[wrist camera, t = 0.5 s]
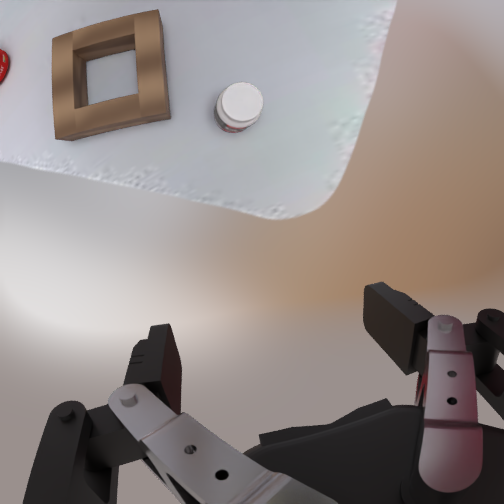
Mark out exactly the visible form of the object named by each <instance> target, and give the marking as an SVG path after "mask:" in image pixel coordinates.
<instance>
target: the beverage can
mask: <svg viewBox="0 0 504 504" xmlns="http://www.w3.org/2000/svg"><path fill="white" fill-rule="evenodd" d="M7 68H8V56H7V54H6V52H5V51H3V50H1V49H0V82H1V81H2V79H3V77H4V76H5V74H6V71H7Z"/></svg>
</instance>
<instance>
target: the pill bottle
mask: <svg viewBox="0 0 504 504" xmlns="http://www.w3.org/2000/svg"><path fill="white" fill-rule="evenodd" d="M262 107H263V97H262V94H261V92H260V91H259V90H258V88H256V87H255V86H254V85H252V84H250V83H246V82H239V83H235V84H232V85H231V86H229V87H228V88H226V89H225V90H224V91H222V93H221V94H220V95H219V97H218V99H217V102H216V106H215V109H214V118H215V121H216V123H217V125H218V126H219V127H220V128H221V129H223V130H224V131H227V132H231V133H236V132H241V131H243V130H245V129H246V128H248V127H249V126H251V125H252V124H253V123H254V122H256V120H257V119H258V118H259V116H260V114H261V111H262Z"/></svg>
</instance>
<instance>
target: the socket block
mask: <svg viewBox="0 0 504 504" xmlns="http://www.w3.org/2000/svg"><path fill="white" fill-rule="evenodd" d="M133 49H136V66H137V80H138V92H139V93H138V94H133V95H128V96H124V97H120V98H116V99H111V100H107V101H103V102H100V103H96V104H92V105H89V106H88V95H87V76H86V62H87V61H90V60H94V59H97V58H101V57H105V56H108V55H112V54H116V53H120V52H124V51H129V50H133ZM52 98H53V115H54V128H55V139H57V140H66V141H74V140H78V139H81V138H85V137H89V136H93V135H96V134H100V133H104V132H109V131H113V130H117V129H122V128H126V127H131V126H135V125H140V124H145V123H150V122H156V121H161V120H167V119H171V116H170V107H169V98H168V88H167V77H166V66H165V54H164V41H163V26H162V22H161V18H160V14H159V11H158V9H157V10H152V11H147V12H142V13H137V14H132V15H128V16H124V17H120V18H116V19H112V20H108V21H104V22H101V23H97V24H94V25H90V26H87V27H84V28H81V29H78V30H75V31H72V32H69V33H66V34H63V35H60V36H58V37H55V38H53V39H52Z"/></svg>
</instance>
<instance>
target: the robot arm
mask: <svg viewBox="0 0 504 504" xmlns="http://www.w3.org/2000/svg"><path fill="white" fill-rule="evenodd" d="M363 322H364V326H365V329H366V331H367V332H368V333H369V334H370V335H371V337H373V339H374V340H375V341H376V342H377V343H378V344H379V345H380V347H381V348H382V349H383V350H384V351H385V352H386V353H387V354H388V356H389V357H390V358H391V359H392V360H393V361H394V362H395V363H396V365H397V366H398V367H399V368H400V369H401V370H402V371H403V372H404V374H405V375H409V374H411V373H414V372H416V371H418V372H419V375H418V379H417V387H416V395H415V402H414V405H395V406H392V405H391V404H390V402H389V401H388V399H386V398H385V399H383V400H380V401H377V402H374V403H372V404H369V405H366V406H363V407H360V408H358V409H356V410H354V411H352V412H351V413H349V414H347V415H345V416H344V417H342V418H340V419H338V420H336V421H335V422H333V423H331V424H327V425H317V426H302V427H291V428H286V429H282V430H278V431H273V432H269V433H264V434H259V438H260V444H259V445H257V446H254V447H253V448H251V449H249V450H247V451H246V452H244V453H243V454H242V453H241V452H239V451H238V450H236V449H235V448H233V447H232V446H231V445H229V444H228V443H226V442H225V441H223V440H222V439H220V438H219V437H218V436H216V435H215V434H214V433H212V432H211V431H210V430H208V429H207V428H206V427H204V426H203V425H202V424H200V423H199V422H198V421H196V420H195V419H194V418H192V417H191V416H190V415H189V414H187V413H185V412H183V413H181V382H182V366H181V360H180V356H179V352H178V349H177V346H176V342H175V339H174V335H173V332H172V328H171V326H170V324H162V325H155V326H151V327H150V331H149V336H148V339H144V340H140V341H139V342H138V343H137V344H136V345H135V347H134V348H133V351H132V355H131V358H130V361H129V365H128V369H127V372H126V376H125V380H124V384H123V386H121V387H119V388H117V389H116V390H115V391H113V393H112V394H111V395H110V397H109V399H108V404H107V405H104V406H101V407H97V408H94V409H91V410H86V408H85V407H84V405H83V404H82V403H80V402H78V401H67V402H64V403H61V404H59V405H58V406H57V407H55V408H54V409H53V410H52V411H51V413H50V415H49V418H48V420H47V423H46V426H45V429H44V432H43V435H42V438H41V441H40V444H39V447H38V450H37V453H36V457H35V460H34V463H33V467H32V470H31V474H30V477H29V481H28V485H27V488H26V492H25V496H24V500H23V504H117V486H118V472H119V465H123V464H126V463H129V462H133V461H136V460H139V459H141V461H142V462H143V463H144V464H145V465H146V466H147V467H148V469H149V470H150V471H151V472H152V473H153V474H154V475H155V476H156V477H157V478H158V479H159V480H160V481H161V482H162V483H163V484H164V485H165V486H166V488H168V490H170V492H171V493H172V494H173V495H174V496H175V497H176V498H177V500H178V501H179V502H180V503H181V504H504V429H500V428H496V427H492V426H488V425H484V424H480V423H478V410H477V393H476V390H477V391H478V392H479V393H480V394H481V395H482V396H483V397H484V399H485V400H486V401H487V402H488V403H489V404H490V405H491V406H492V407H493V409H494V410H495V411H496V412H497V413H498V414H499V415H500V416H501V417H502V419H503V420H504V370H503V369H502V368H501V367H500V366H499V365H498V364H496V361H497V358H498V355H499V352H501V353H502V354H503V355H504V313H503V312H502V311H499V310H496V309H484V310H481V311H480V312H479V313H478V316H477V321H476V323H469V324H462V322H461V321H460V320H459V319H457V318H456V317H453V316H450V315H438V316H434V315H433V314H432V313H430V312H429V311H428V310H426V309H425V308H423V306H421V305H420V304H418V303H417V302H416V301H415V300H412V298H410V297H409V296H408V295H406V294H405V293H402V292H399V291H396V290H393V289H392V288H390V287H389V286H388V285H386V284H385V283H384V282H379V283H374V284H370V285H367V286H365V288H364V308H363Z"/></svg>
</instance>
